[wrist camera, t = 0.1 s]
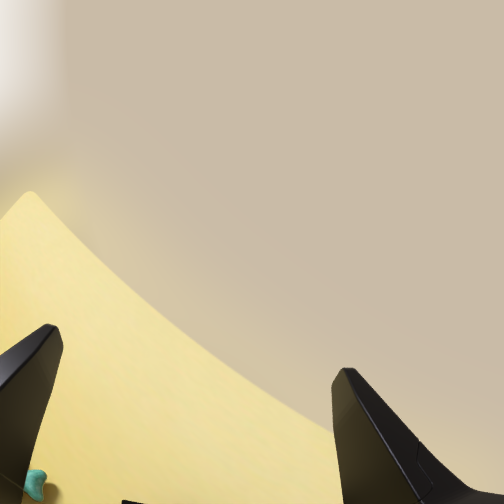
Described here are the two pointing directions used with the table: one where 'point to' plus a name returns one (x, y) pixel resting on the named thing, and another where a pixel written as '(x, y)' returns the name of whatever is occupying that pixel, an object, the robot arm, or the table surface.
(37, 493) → the whale figurine
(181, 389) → the table surface
